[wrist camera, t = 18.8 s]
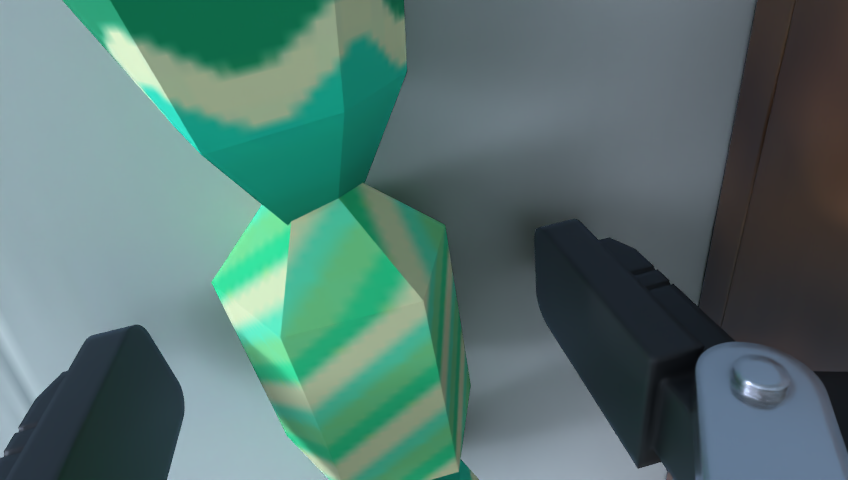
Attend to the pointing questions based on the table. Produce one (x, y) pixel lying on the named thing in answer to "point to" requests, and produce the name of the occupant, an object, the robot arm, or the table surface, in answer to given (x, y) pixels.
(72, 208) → the table surface
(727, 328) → the chest
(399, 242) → the candy
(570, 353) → the robot arm
